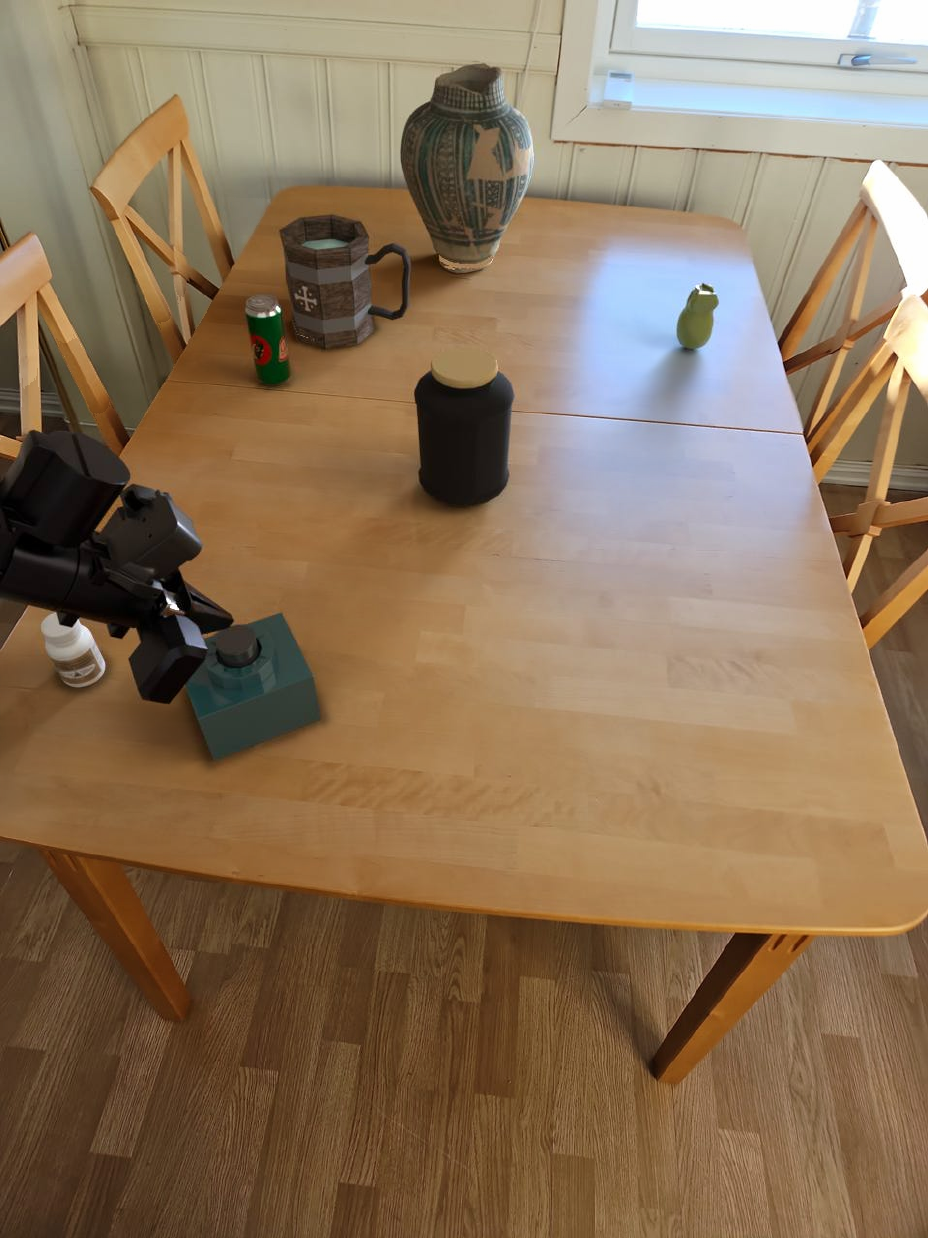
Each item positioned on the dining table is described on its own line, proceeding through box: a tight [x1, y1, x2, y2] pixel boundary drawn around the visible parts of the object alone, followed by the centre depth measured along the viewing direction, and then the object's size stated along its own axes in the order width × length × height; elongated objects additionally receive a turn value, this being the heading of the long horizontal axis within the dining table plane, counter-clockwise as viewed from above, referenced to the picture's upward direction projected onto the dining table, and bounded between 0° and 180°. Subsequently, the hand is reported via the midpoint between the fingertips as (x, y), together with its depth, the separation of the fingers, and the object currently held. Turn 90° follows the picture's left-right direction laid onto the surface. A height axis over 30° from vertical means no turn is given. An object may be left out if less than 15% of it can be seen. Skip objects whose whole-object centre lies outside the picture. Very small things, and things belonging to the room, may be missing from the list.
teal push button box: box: [184, 611, 322, 762], centre depth 80 cm, size 11×9×9 cm
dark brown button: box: [216, 624, 259, 668], centre depth 76 cm, size 4×4×2 cm
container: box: [413, 345, 515, 508], centre depth 100 cm, size 12×12×18 cm
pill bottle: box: [40, 612, 106, 688], centre depth 83 cm, size 4×4×8 cm
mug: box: [278, 213, 412, 350], centre depth 127 cm, size 20×14×15 cm
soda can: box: [244, 294, 292, 387], centre depth 118 cm, size 5×5×12 cm
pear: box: [675, 282, 720, 350], centre depth 128 cm, size 6×5×10 cm
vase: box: [399, 62, 535, 274], centre depth 138 cm, size 22×22×30 cm
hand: (230, 621), depth 73 cm, fingers closed
